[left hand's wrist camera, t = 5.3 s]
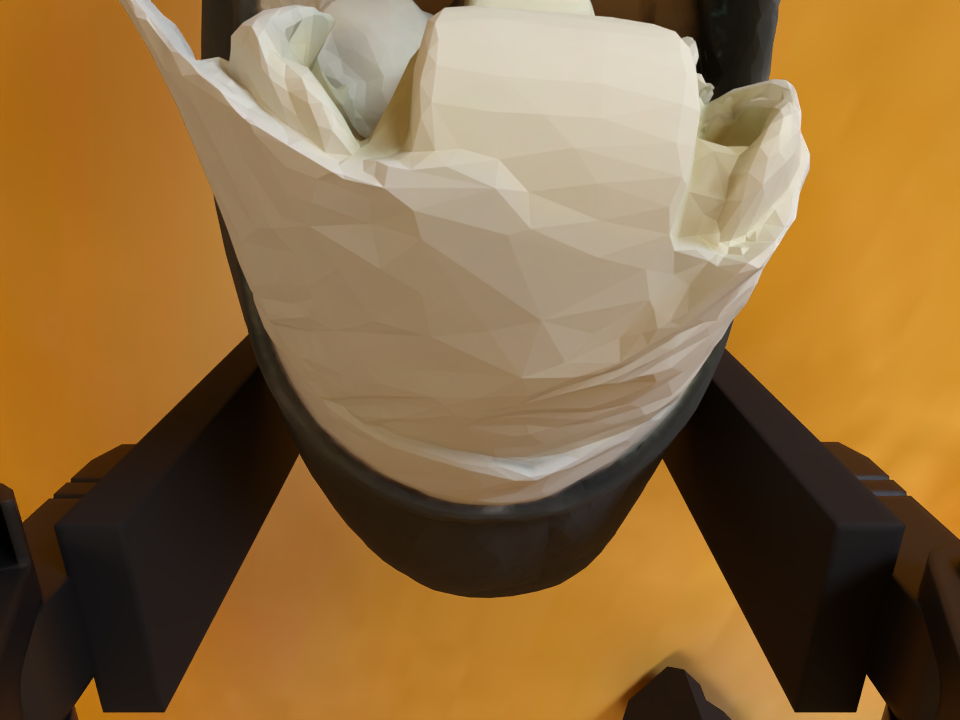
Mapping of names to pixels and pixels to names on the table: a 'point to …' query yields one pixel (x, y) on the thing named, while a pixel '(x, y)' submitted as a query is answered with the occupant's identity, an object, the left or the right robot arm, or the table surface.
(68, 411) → the table surface
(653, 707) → the toy gun
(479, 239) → the ballet flat
